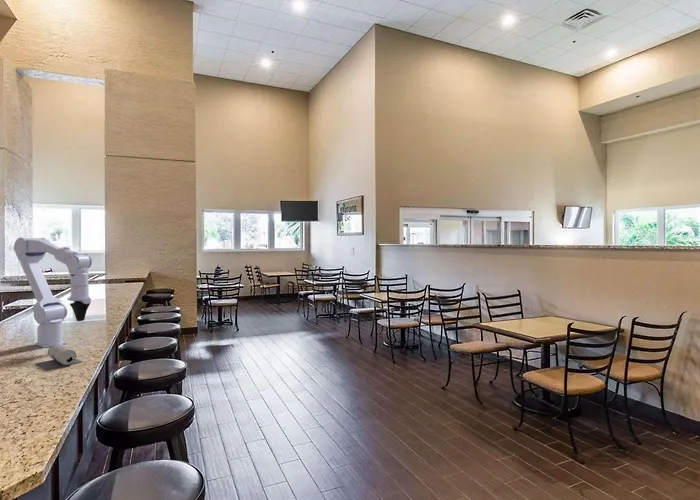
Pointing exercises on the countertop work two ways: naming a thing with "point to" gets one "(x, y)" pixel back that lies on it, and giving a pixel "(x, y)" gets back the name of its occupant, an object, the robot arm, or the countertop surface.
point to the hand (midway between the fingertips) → (80, 320)
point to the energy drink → (62, 354)
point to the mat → (54, 364)
